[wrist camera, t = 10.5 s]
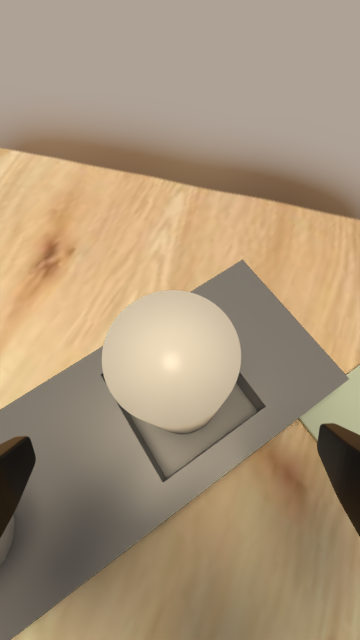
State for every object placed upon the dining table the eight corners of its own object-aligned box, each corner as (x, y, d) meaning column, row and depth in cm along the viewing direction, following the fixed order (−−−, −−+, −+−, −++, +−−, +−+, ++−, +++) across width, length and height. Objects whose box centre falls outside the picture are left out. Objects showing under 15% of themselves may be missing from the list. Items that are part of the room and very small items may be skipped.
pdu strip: (328, 388, 21) (410, 352, 13) (-8, 644, 16) (-189, 824, 9) (236, 281, 24) (258, 201, 16) (-63, 470, 20) (-231, 485, 12)
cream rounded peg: (230, 386, 21) (265, 331, 10) (193, 449, 19) (193, 458, 9) (172, 350, 22) (153, 269, 11) (134, 408, 20) (73, 373, 10)
